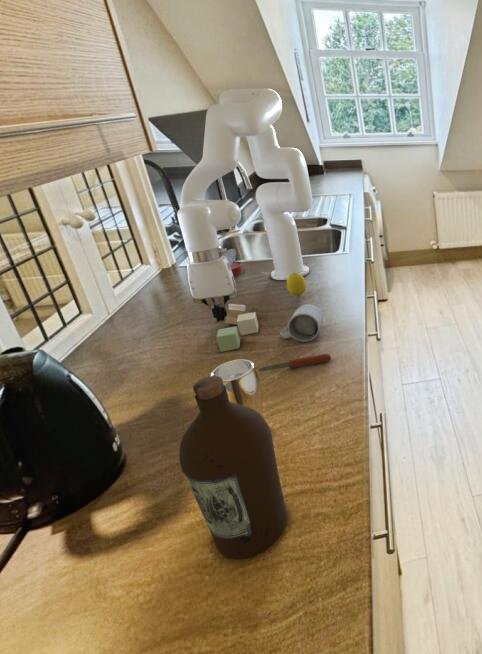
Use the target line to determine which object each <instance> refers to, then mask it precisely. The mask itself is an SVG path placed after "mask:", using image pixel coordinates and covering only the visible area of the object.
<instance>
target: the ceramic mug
mask: <svg viewBox="0 0 482 654" xmlns="http://www.w3.org/2000/svg"><path fill="white" fill-rule="evenodd" d="M323 320H324V316H323V312H322V310H321V309H320V307H318V306H317V305H314V304H310V303H308V304H303V305H301V306H299V307H298V308H297V309H296V310H295V311H294V313H293V315H292V316H291V317H290V319H289V320H288V322H287V325H286V326H285V327H284V328H282V330H281V331H280V333H279V335H280V336H281V337H282V339H284V340H285V339H288V338H292V339H294V340H295V341H298V342H303V343H305V342H311V341H313V340H315V339H316V338H317V337H318V336H319V333H320V330H321V327H322V324H323Z"/></svg>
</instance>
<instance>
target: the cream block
mask: <svg viewBox="0 0 482 654" xmlns="http://www.w3.org/2000/svg"><path fill="white" fill-rule="evenodd" d="M237 324H238V325H237ZM237 324H236V325H237V329H238V332H239V336H247V335H252V334H257V333H259V322H258V318H257V314H256V311H254V312H246V313H245V314H241V315H238V319H237Z"/></svg>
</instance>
